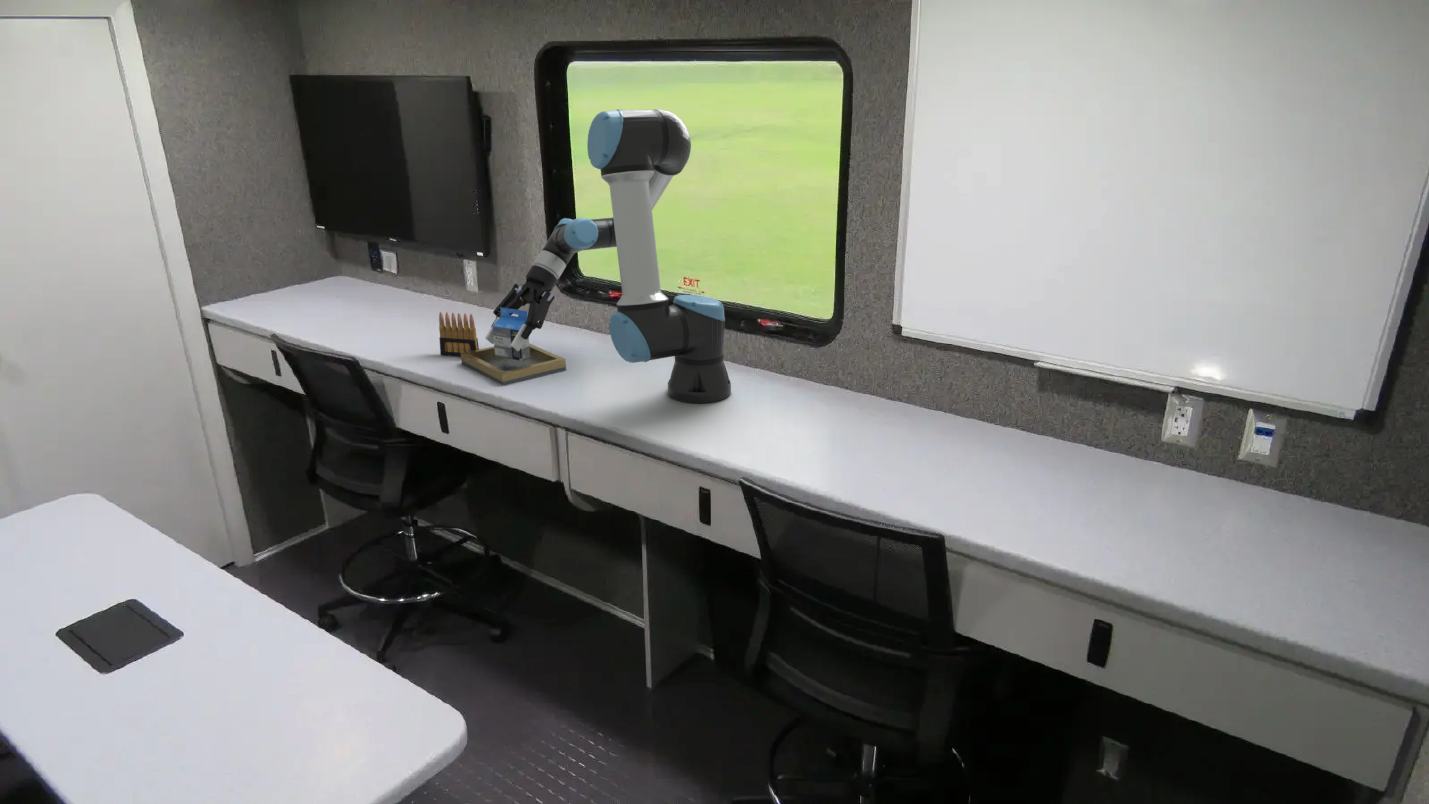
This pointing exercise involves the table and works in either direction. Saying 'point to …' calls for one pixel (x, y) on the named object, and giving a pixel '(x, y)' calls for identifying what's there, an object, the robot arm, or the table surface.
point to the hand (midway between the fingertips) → (501, 344)
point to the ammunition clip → (457, 335)
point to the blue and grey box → (510, 334)
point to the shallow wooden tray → (513, 365)
